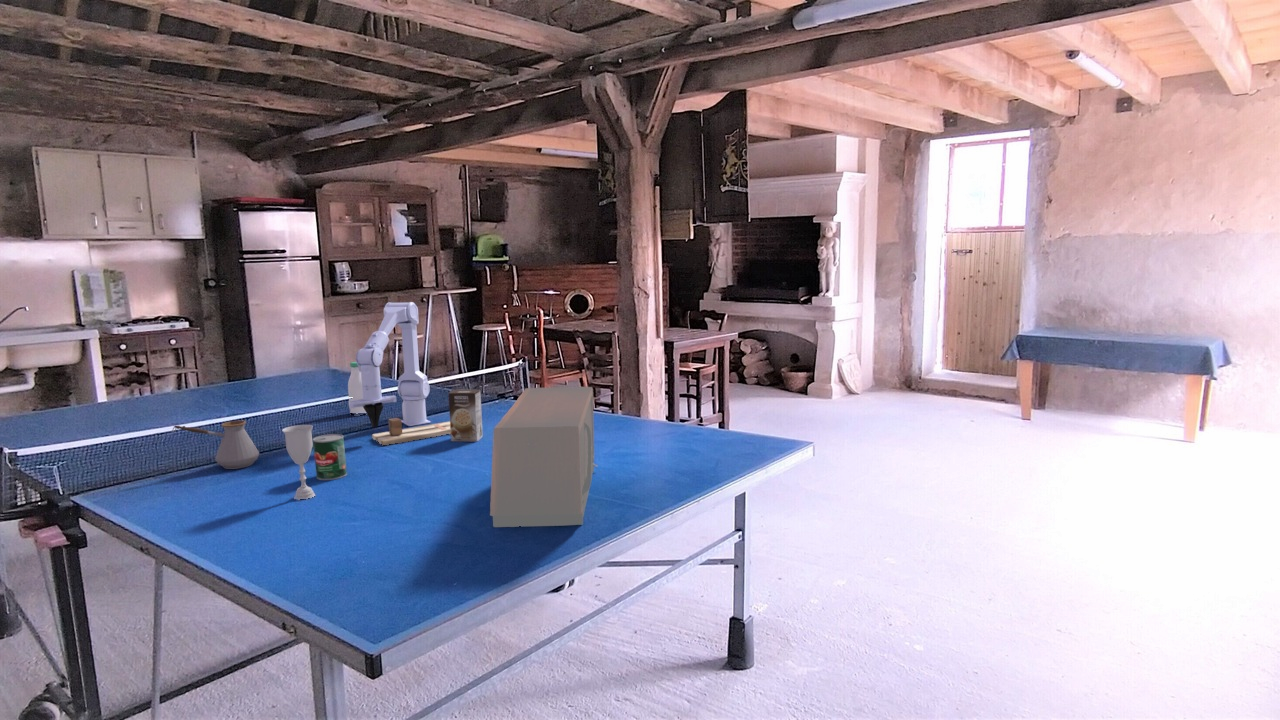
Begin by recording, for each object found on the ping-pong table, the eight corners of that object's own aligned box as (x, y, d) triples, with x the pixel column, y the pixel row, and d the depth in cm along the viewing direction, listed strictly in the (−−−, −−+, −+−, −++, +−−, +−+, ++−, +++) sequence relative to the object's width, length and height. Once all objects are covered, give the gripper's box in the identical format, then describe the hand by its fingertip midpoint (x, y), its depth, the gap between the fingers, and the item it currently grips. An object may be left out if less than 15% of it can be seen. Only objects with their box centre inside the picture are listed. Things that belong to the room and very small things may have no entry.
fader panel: (372, 438, 247) (372, 434, 246) (453, 424, 263) (452, 420, 263) (383, 446, 237) (383, 441, 237) (466, 431, 253) (466, 426, 253)
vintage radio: (522, 469, 208) (519, 387, 204) (603, 469, 207) (600, 386, 204) (484, 532, 164) (478, 427, 160) (586, 531, 163) (582, 426, 159)
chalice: (299, 503, 185) (292, 433, 183) (283, 498, 189) (276, 429, 186) (325, 494, 192) (319, 426, 189) (309, 490, 195) (302, 423, 192)
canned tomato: (347, 470, 212) (343, 432, 211) (347, 477, 205) (343, 439, 203) (317, 473, 210) (313, 436, 208) (315, 481, 202) (311, 442, 201)
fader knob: (389, 433, 246) (388, 419, 245) (398, 431, 247) (397, 417, 247) (393, 435, 243) (392, 421, 242) (402, 434, 244) (401, 419, 244)
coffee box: (450, 441, 240) (446, 393, 238) (456, 436, 246) (453, 389, 244) (477, 441, 239) (474, 392, 237) (483, 436, 245) (480, 388, 243)
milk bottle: (367, 415, 281) (362, 363, 278) (347, 416, 281) (342, 364, 278) (374, 411, 289) (370, 360, 286) (355, 411, 289) (350, 360, 286)
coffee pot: (252, 457, 228) (247, 409, 226) (266, 464, 220) (260, 415, 218) (173, 473, 213) (166, 423, 211) (184, 482, 205) (177, 429, 203)
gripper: (351, 390, 231) (355, 432, 233) (398, 384, 240) (401, 425, 242) (345, 387, 237) (349, 428, 239) (391, 381, 245) (394, 421, 247)
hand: (374, 426), depth 241 cm, fingers closed
